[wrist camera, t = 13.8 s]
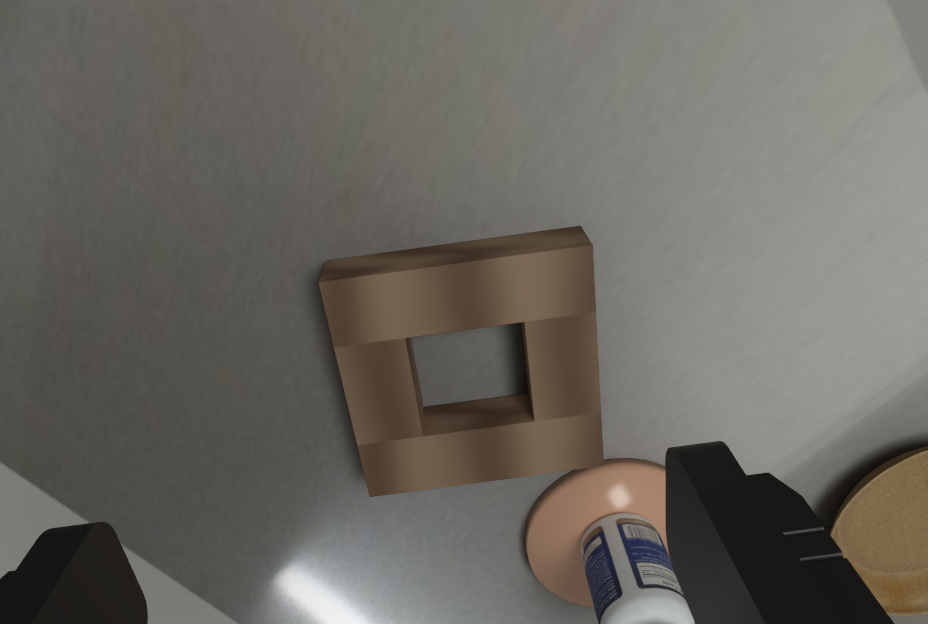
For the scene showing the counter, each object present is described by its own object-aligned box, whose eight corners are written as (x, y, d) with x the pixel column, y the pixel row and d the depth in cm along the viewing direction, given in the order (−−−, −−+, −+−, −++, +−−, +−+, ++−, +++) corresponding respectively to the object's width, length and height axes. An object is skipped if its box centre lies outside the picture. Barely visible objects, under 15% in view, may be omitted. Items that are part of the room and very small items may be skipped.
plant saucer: (795, 458, 46) (815, 484, 44) (1025, 392, 45) (1058, 415, 42) (819, 608, 52) (838, 638, 50) (1021, 554, 51) (1050, 582, 48)
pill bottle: (597, 581, 48) (634, 717, 39) (565, 529, 46) (597, 660, 37) (670, 552, 47) (725, 684, 38) (642, 497, 45) (693, 624, 36)
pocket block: (373, 465, 44) (369, 496, 41) (326, 260, 38) (318, 282, 35) (592, 435, 44) (603, 465, 41) (580, 226, 38) (592, 245, 35)
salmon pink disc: (532, 604, 50) (535, 617, 49) (516, 471, 45) (519, 483, 44) (699, 582, 50) (705, 595, 49) (702, 446, 45) (709, 458, 44)
